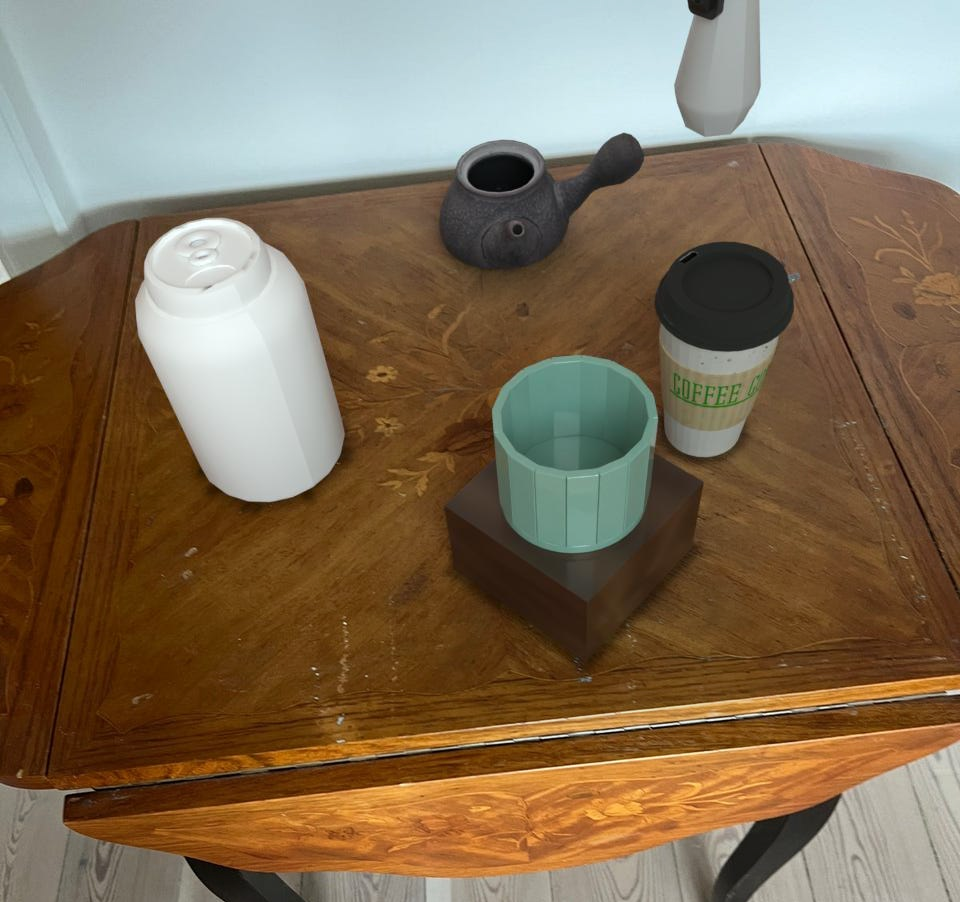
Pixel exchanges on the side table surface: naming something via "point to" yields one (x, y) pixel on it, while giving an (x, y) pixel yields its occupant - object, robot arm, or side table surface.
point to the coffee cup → (717, 340)
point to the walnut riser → (573, 559)
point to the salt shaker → (720, 69)
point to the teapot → (522, 200)
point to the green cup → (574, 452)
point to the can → (239, 359)
